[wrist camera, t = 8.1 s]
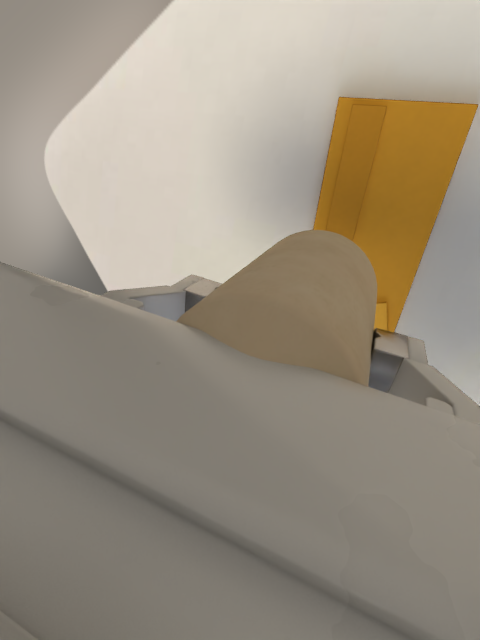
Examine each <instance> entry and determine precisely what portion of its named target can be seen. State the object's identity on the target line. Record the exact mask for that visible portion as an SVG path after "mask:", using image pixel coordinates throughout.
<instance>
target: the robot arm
mask: <svg viewBox="0 0 480 640" xmlns="http://www.w3.org/2000/svg"><path fill="white" fill-rule="evenodd" d="M221 285H222V284H221V283H218V282H215V281H212V280H208V279H205V278H203V277H199V276H195V275H190V276H188V277H186V278H185V279H183V280H181V281H179V282H178V283H176V284H174V285H172V286H171V287H170V286H157V287H146V288H135V289H124V290H113V291H109V292H106V293H105V294H102V295H100V296H99V295H96V294H93V293H90V292H87V291H84V290H81V289H78V288H75V287H72V286H70V285H67V284H64V283H60V282H57V281H55V280H52V279H49V278H46V277H43V276H40V275H37V274H34V273H31V272H28V271H25V270H22V269H19V268H16V267H13V266H10V265H7V264H5V263H1V262H0V640H480V406H479V405H477V404H476V403H475V402H474V401H473V400H472V399H470V398H469V397H468V396H467V395H466V394H465V393H463V392H462V391H461V390H460V389H459V388H458V387H456V386H455V385H454V384H453V383H452V382H451V381H449V380H448V379H447V378H446V377H445V376H444V375H442V374H441V373H440V372H439V371H438V370H437V369H435V368H434V367H433V366H430V365H428V361H427V355H426V350H425V344H424V341H423V340H420V339H416V338H412V337H408V336H406V335H402V334H398V333H395V332H391V331H387V330H383V329H379V328H375V329H374V333H373V343H372V352H371V364H370V374H369V384H368V386H365V385H362V384H359V383H356V382H353V381H350V380H347V379H344V378H342V377H339V376H336V375H333V374H330V373H327V372H324V371H321V370H318V369H314V368H309V367H303V366H296V365H289V364H283V363H278V362H272V361H267V360H263V359H259V358H256V357H252V356H249V355H247V354H245V353H242V352H240V351H238V350H236V349H234V348H232V347H230V346H228V345H226V344H224V343H223V342H221V341H219V340H217V339H216V338H214V337H212V336H210V335H209V334H207V333H206V332H204V331H202V330H199V329H197V328H194V327H191V326H188V325H185V324H182V323H179V322H176V321H177V320H178V319H179V318H180V317H181V316H182V315H183V314H184V313H185V312H186V311H188V310H189V309H190V308H192V307H193V306H194V305H196V304H197V303H198V302H200V301H201V300H202V299H204V298H205V297H206V296H208V295H209V294H210V293H212V292H213V291H214V290H215V289H217V288H218V287H219V286H221Z"/></svg>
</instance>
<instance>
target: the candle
mask: <svg viewBox="0 0 480 640" xmlns="http://www.w3.org/2000/svg"><path fill="white" fill-rule="evenodd" d="M376 303H377V281H376V275H375V272H374V269H373V267H372V265H371V263H370V261H369V259H368V257H367V256H366V254H365V253H364V252H363V251H362V250H361V249H360V247H359V246H357V245H356V244H355V243H354V242H352V241H351V240H349V239H348V238H346V237H344V236H342V235H340V234H337V233H334V232H330V231H324V230H308V231H302V232H298V233H295V234H292V235H290V236H288V237H286V238H284V239H282V240H281V241H279V242H278V243H276V244H275V245H274V246H272V247H271V248H270V249H268V250H267V251H266V252H264V253H263V254H262V255H260V256H259V257H258V258H257V259H255V260H254V261H253V262H251V263H250V264H249V265H247V266H246V267H245V268H243V269H242V270H241V271H239V272H238V273H237V274H235V275H234V276H233V277H231V278H230V279H229V280H227V281H226V282H225V283H223V284H222V285H221V286H219V287H218V288H217V289H215V290H214V291H213V292H212V293H210V294H209V295H208V296H206V297H205V298H204V299H202V300H201V301H200V302H198V303H197V304H196V305H194V306H193V307H192V308H190V309H189V310H188V311H186V312H185V313H184V314H183V315H182V316H181V317H180V318H179V319H178V320H177V321H176V322H179V323H182V324H185V325H188V326H191V327H194V328H197V329H199V330H202V331H204V332H206V333H207V334H209V335H210V336H212V337H214V338H216V339H217V340H219V341H221V342H223V343H224V344H226V345H228V346H230V347H232V348H234V349H236V350H238V351H240V352H242V353H245V354H247V355H249V356H252V357H256V358H259V359H263V360H267V361H272V362H278V363H283V364H289V365H296V366H303V367H309V368H314V369H318V370H321V371H324V372H327V373H330V374H333V375H336V376H339V377H342V378H344V379H347V380H350V381H353V382H356V383H359V384H362V385H365V386H368V384H369V374H370V364H371V352H372V343H373V333H374V323H375V313H376Z"/></svg>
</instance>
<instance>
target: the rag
mask: <svg viewBox="0 0 480 640" xmlns="http://www.w3.org/2000/svg"><path fill="white" fill-rule="evenodd" d="M477 107H478V104H462V103H443V102H424V101H405V100H386V99H367V98H347V97H339V100H338V105H337V110H336V115H335V121H334V126H333V131H332V136H331V141H330V146H329V151H328V157H327V162H326V167H325V172H324V177H323V182H322V187H321V193H320V198H319V203H318V208H317V213H316V218H315V223H314V228H313V230H324V231H330V232H334V233H337V234H340V235H342V236H344V237H346V238H348V239H349V240H351V241H352V242H354V243H355V244H356V245H357V246H359V247H360V249H361V250H362V251H363V252H364V253H365V254H366V256H367V257H368V259H369V261H370V263H371V265H372V267H373V269H374V272H375V275H376V281H377V303H376V313H375V323H374V329H375V328H379V329H383V330H387V331H391V332H394V331H395V328H396V325H397V323H398V320H399V317H400V315H401V312H402V309H403V306H404V304H405V301H406V298H407V296H408V293H409V290H410V288H411V285H412V282H413V280H414V277H415V274H416V271H417V269H418V266H419V263H420V261H421V258H422V255H423V253H424V250H425V247H426V245H427V242H428V239H429V236H430V234H431V231H432V228H433V226H434V223H435V220H436V218H437V215H438V212H439V209H440V207H441V204H442V201H443V199H444V196H445V193H446V191H447V188H448V185H449V183H450V180H451V177H452V174H453V172H454V169H455V166H456V164H457V161H458V158H459V156H460V153H461V150H462V148H463V145H464V142H465V139H466V137H467V134H468V131H469V129H470V126H471V123H472V121H473V118H474V115H475V113H476V110H477Z"/></svg>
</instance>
